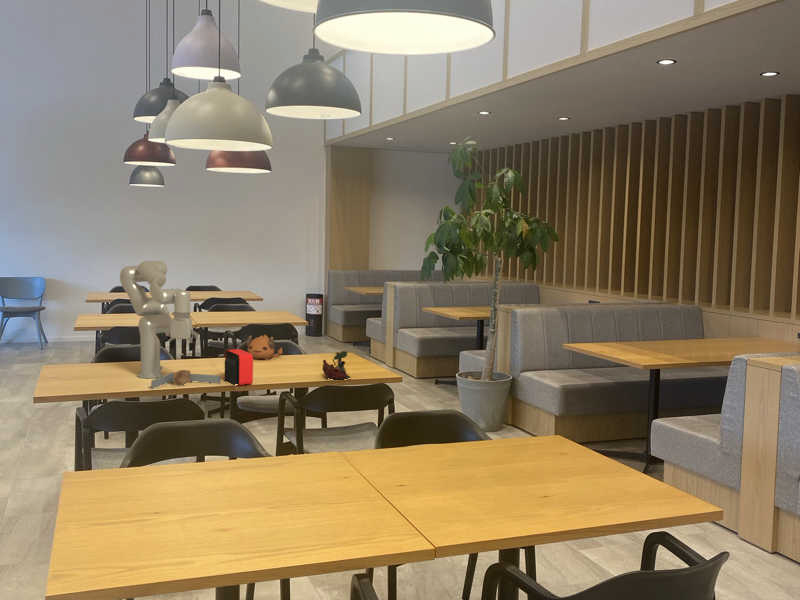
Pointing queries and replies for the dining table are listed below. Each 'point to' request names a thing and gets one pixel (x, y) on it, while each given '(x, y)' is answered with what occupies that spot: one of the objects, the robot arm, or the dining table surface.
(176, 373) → the walnut block
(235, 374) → the red black block
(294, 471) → the dining table surface
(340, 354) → the multicoloured piece
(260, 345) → the toy
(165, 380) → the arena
